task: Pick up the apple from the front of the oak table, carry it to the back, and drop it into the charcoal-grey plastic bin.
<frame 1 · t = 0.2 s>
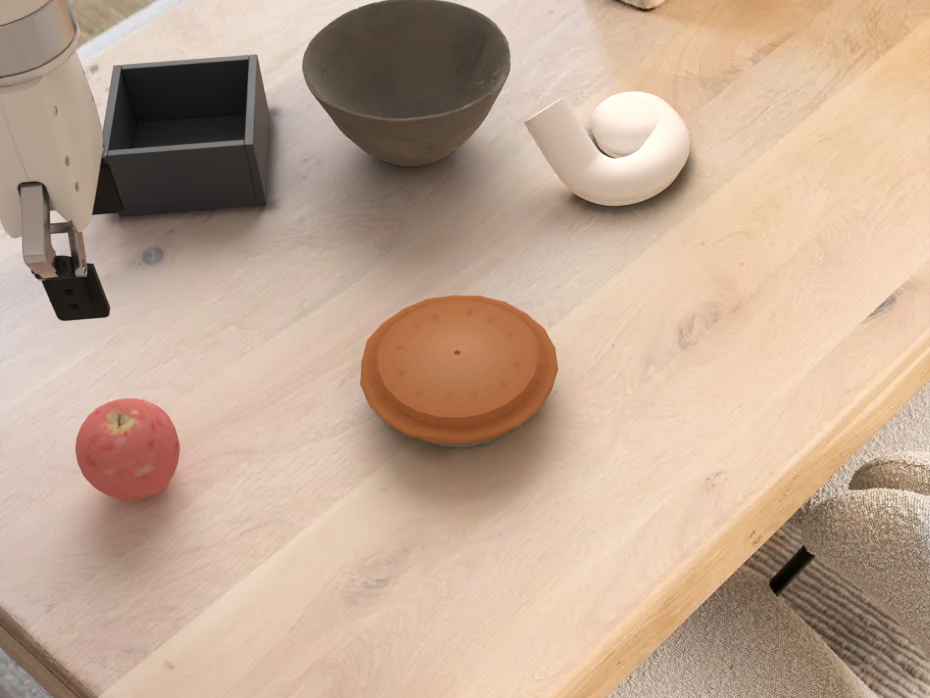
hand: (93, 261, 79), 21 cm above the table, tool pointing down, fingers open, 9 cm apart
bin: (196, 163, 118), on the table
sculpture: (620, 165, 116), on the table
bowl: (416, 147, 119), on the table
apple: (143, 482, 96), on the table
pie: (460, 396, 100), on the table
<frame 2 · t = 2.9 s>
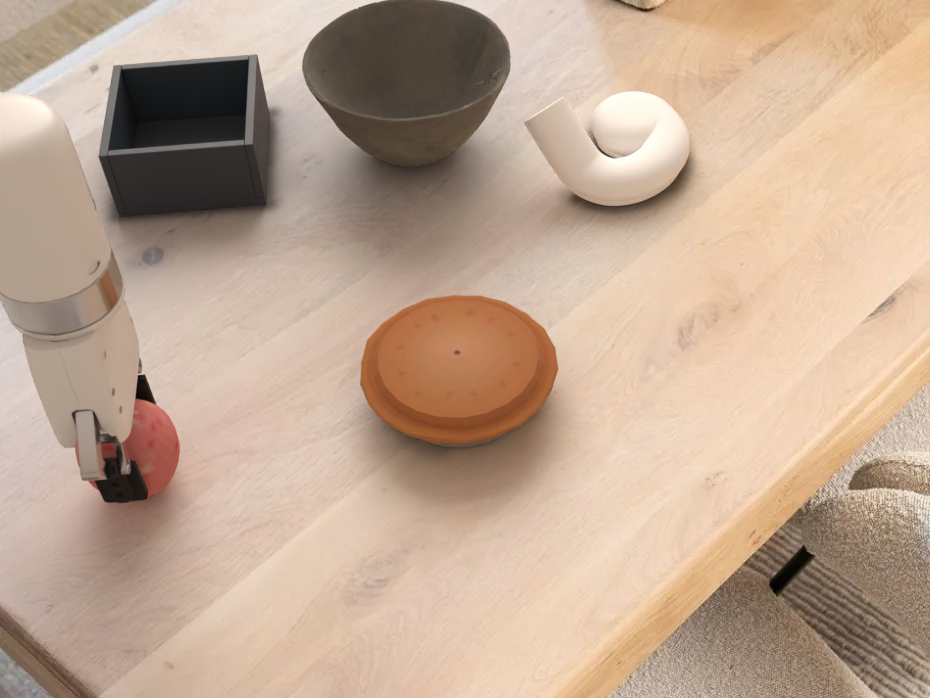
hand: (131, 453, 93), 3 cm above the table, tool pointing down, fingers closed on apple, 7 cm apart
apple: (143, 482, 96), on the table, touching gripper
everything else where it was.
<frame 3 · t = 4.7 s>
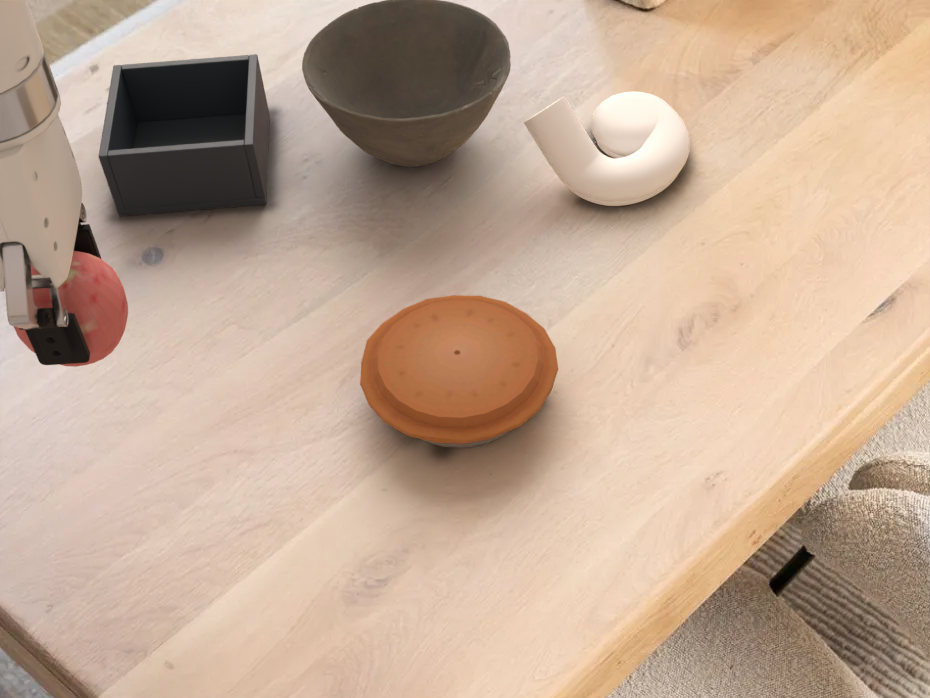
hand: (73, 314, 82), 17 cm above the table, tool pointing down, fingers closed on apple, 7 cm apart
apple: (87, 350, 85), point 13 cm above the table, touching gripper
everything else where it was.
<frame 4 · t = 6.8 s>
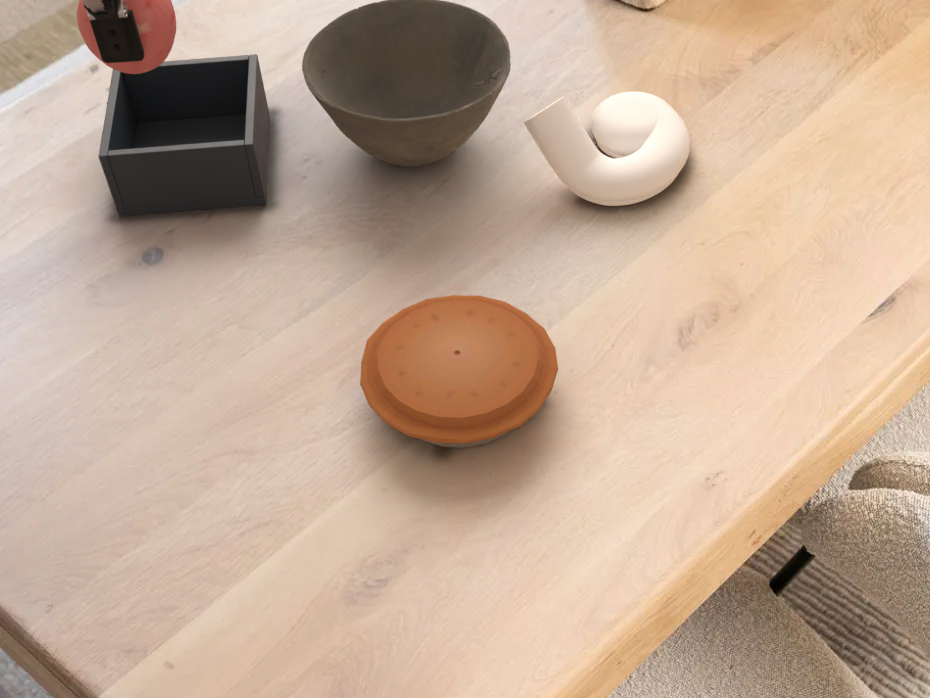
hand: (129, 28, 98), 20 cm above the table, tool pointing down, fingers closed on apple, 7 cm apart
apple: (141, 66, 100), point 16 cm above the table, touching gripper
everything else where it was.
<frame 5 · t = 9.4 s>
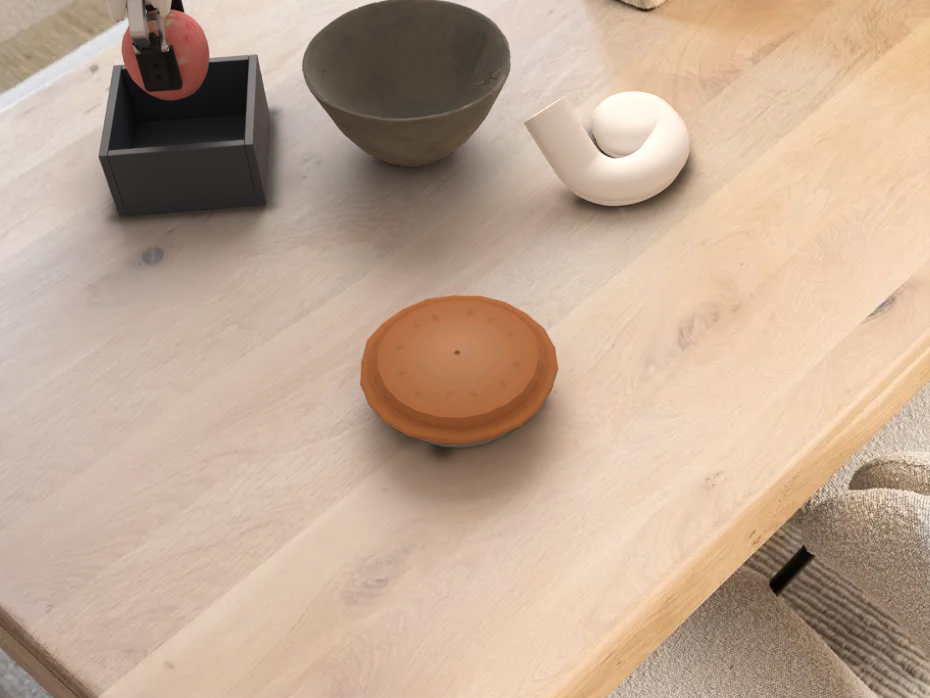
hand: (167, 59, 109), 11 cm above the table, tool pointing down, fingers closed on apple, 7 cm apart
apple: (177, 93, 112), point 8 cm above the table, touching gripper
everything else where it was.
when the fingers open (8 cm above the table, at t = 11.1 s): apple drops 4 cm, resting on bin.
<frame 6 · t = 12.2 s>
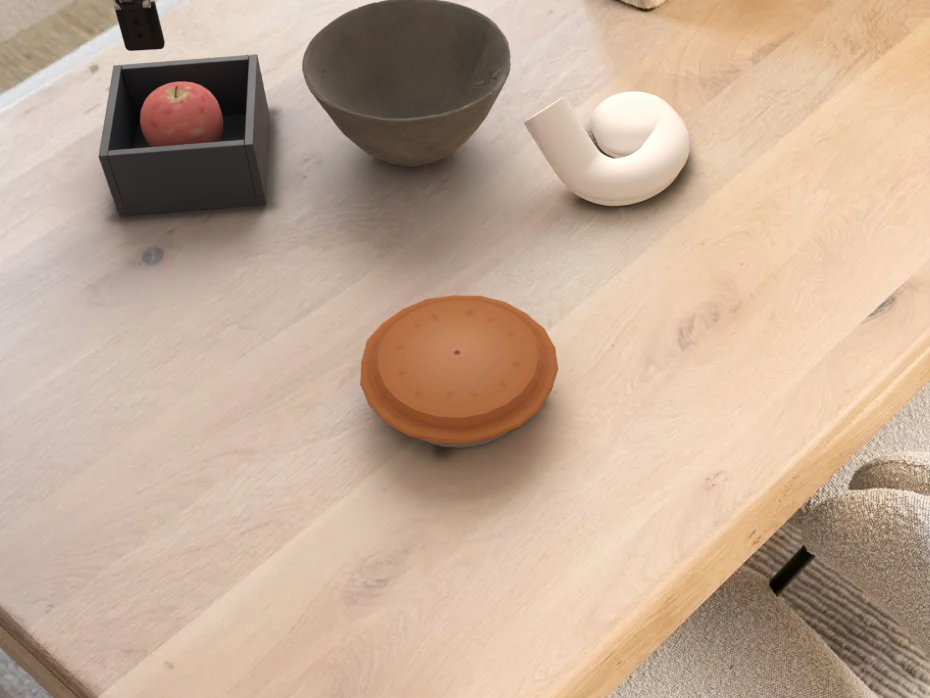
hand: (150, 15, 106), 16 cm above the table, tool pointing down, fingers open, 9 cm apart
apple: (193, 159, 118), point 1 cm above the table, touching bin
everything else where it was.
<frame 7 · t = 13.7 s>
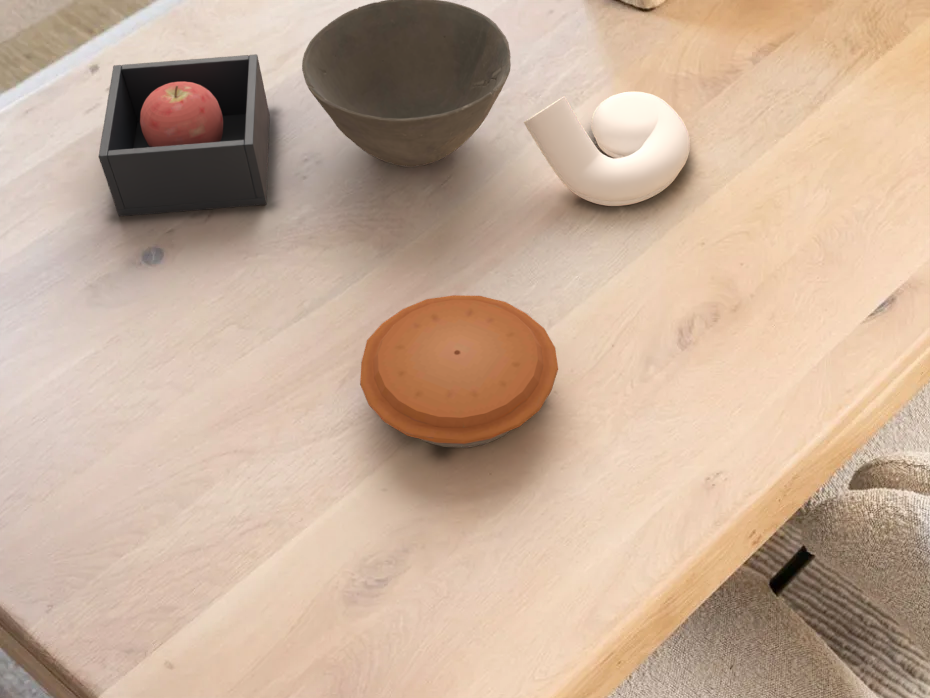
nothing on the table moved.
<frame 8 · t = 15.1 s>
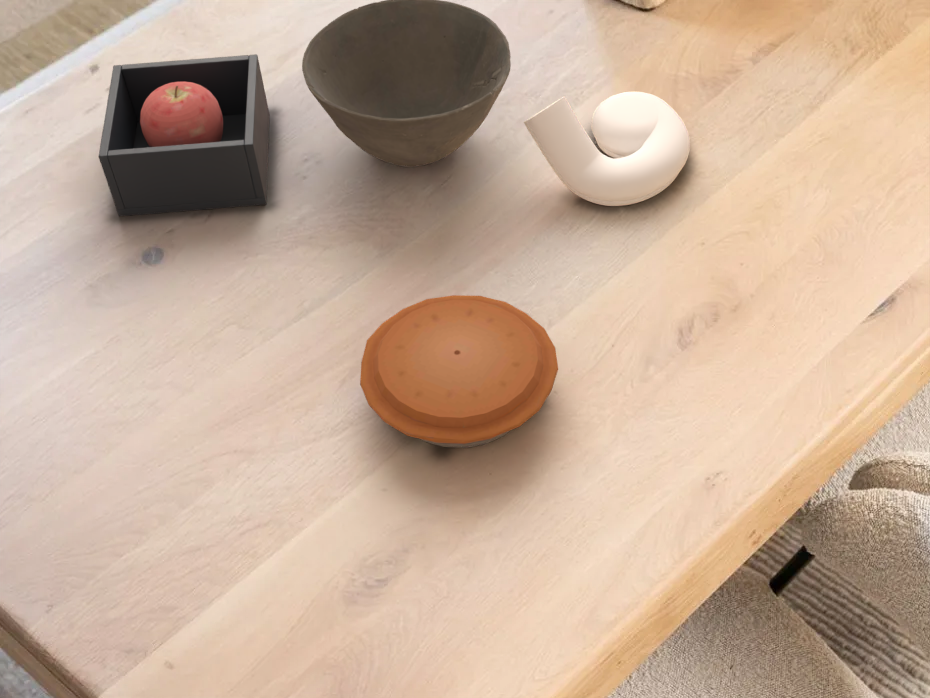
nothing on the table moved.
at the end: apple inside the target area in the bin (0.2 cm from its centre), point 0.6 cm above the bin's base; the gripper is holding nothing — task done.
